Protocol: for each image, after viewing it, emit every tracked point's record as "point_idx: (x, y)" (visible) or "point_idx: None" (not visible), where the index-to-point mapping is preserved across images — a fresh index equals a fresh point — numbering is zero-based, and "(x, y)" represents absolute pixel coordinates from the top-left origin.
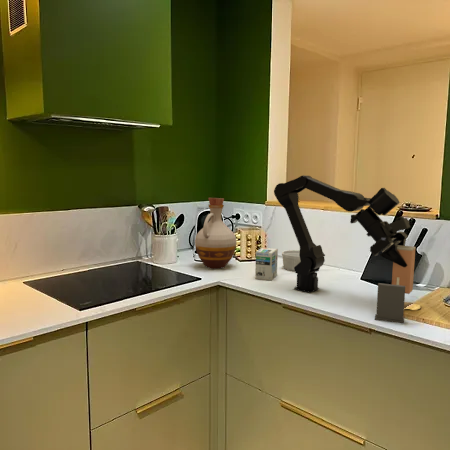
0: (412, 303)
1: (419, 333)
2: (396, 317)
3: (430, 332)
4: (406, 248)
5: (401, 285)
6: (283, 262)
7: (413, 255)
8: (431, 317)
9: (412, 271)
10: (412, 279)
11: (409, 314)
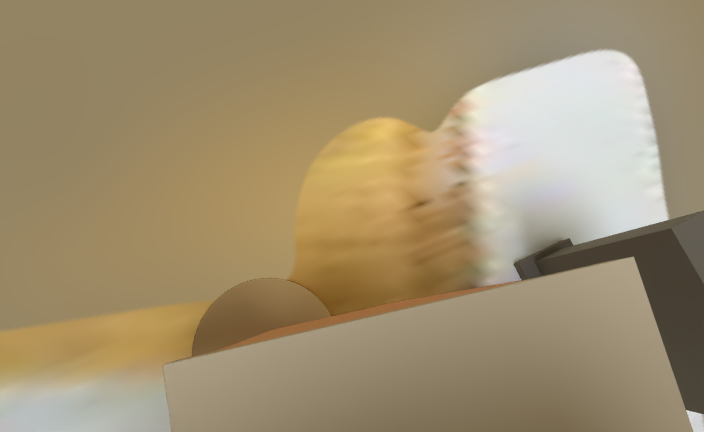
0: (206, 351)
1: (616, 144)
2: None
3: (566, 116)
4: (651, 421)
5: (686, 254)
6: None
7: (367, 316)
8: (358, 185)
9: (338, 317)
10: (306, 323)
11: (402, 284)
